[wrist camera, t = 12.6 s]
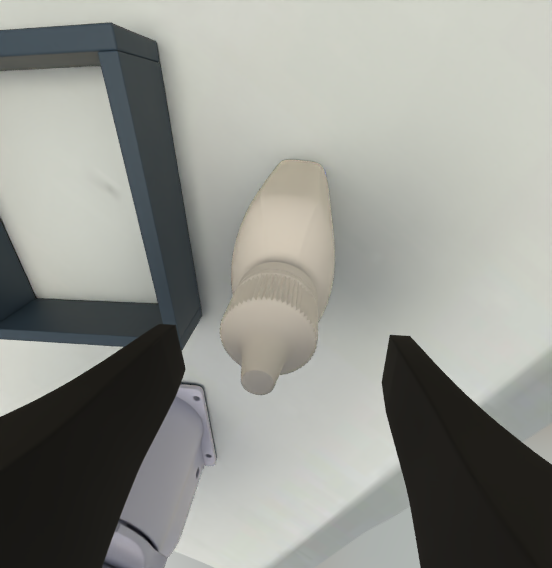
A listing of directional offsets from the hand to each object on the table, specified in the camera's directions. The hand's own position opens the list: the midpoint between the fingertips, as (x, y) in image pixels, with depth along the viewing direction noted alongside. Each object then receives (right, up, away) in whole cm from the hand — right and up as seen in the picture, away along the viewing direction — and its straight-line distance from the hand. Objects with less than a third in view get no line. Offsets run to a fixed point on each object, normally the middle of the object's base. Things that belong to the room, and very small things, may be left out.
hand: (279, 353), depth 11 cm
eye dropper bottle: (+1, +6, +6) cm, 9 cm away
